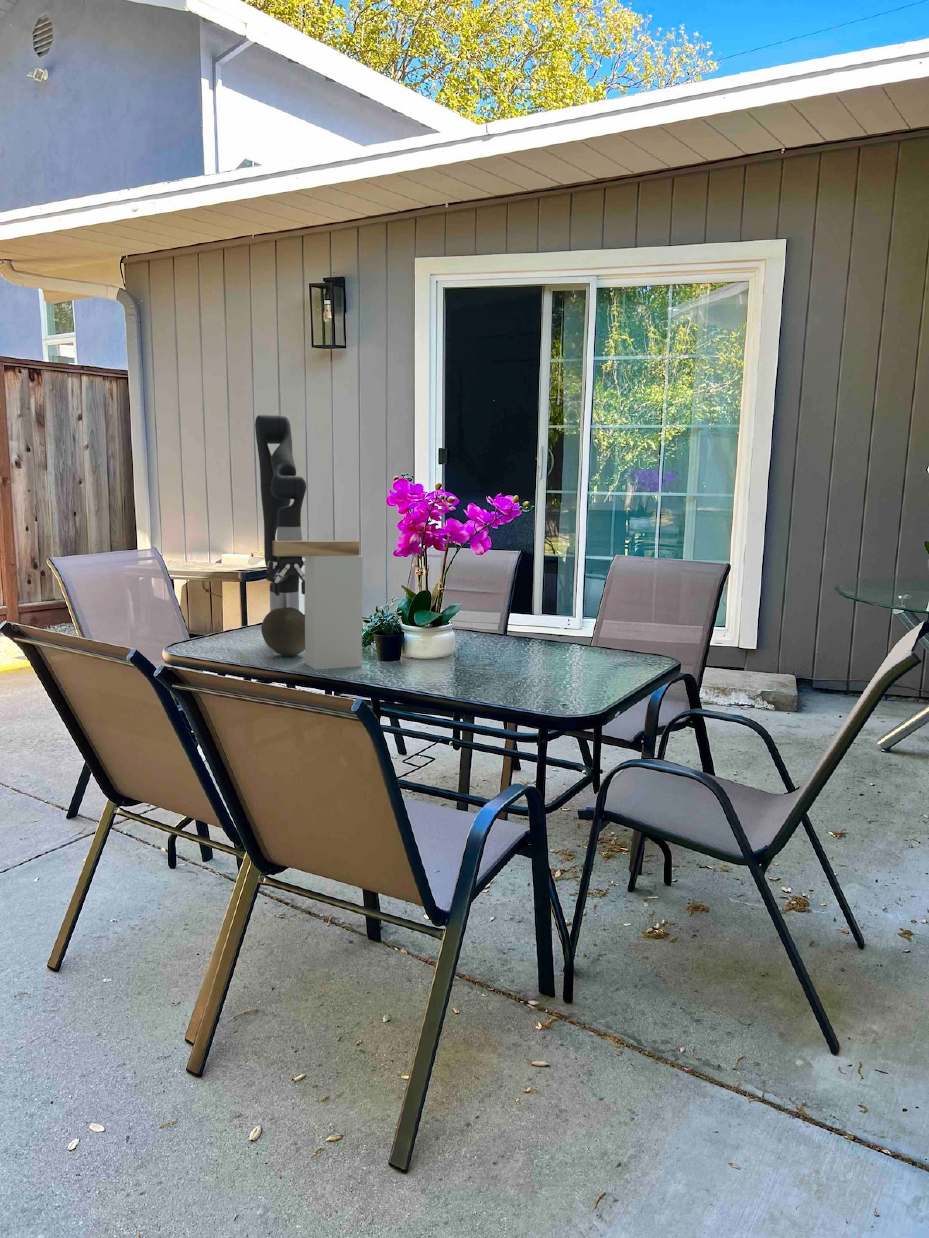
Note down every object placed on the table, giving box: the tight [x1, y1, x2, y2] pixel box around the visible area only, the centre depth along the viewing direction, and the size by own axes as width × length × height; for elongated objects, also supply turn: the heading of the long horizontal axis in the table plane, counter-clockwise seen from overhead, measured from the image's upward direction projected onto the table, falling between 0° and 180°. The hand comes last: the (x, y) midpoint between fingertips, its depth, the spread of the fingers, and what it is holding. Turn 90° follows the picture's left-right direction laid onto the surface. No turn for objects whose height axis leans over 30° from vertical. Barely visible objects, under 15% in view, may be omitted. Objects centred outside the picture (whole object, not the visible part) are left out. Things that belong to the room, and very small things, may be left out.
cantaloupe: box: [260, 607, 305, 657], centre depth 265 cm, size 14×14×15 cm
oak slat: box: [273, 539, 360, 557], centre depth 248 cm, size 4×24×4 cm, turn 116°
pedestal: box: [304, 554, 364, 671], centre depth 253 cm, size 10×14×32 cm
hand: (290, 594), depth 270 cm, fingers open, 8 cm apart
